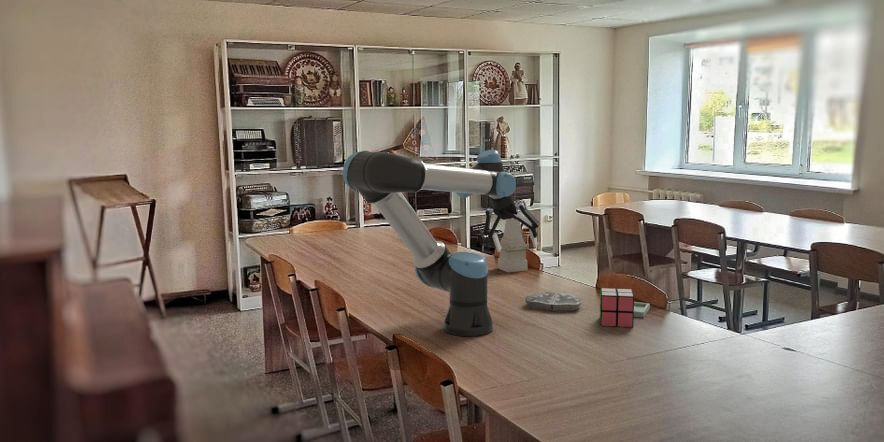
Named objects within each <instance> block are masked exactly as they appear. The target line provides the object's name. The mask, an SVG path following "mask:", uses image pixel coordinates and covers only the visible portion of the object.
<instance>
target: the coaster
mask: <svg viewBox="0 0 884 442" xmlns="http://www.w3.org/2000/svg"><path fill="white" fill-rule="evenodd" d="M650 306H651V304H650V303H647V302H636V301H634V311H633V312H634V318H635V317H636V318H642V317H643V319H644V318H645V316H646V315H647V313H648V312H649V310H650V308H651V307H650Z"/></svg>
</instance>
